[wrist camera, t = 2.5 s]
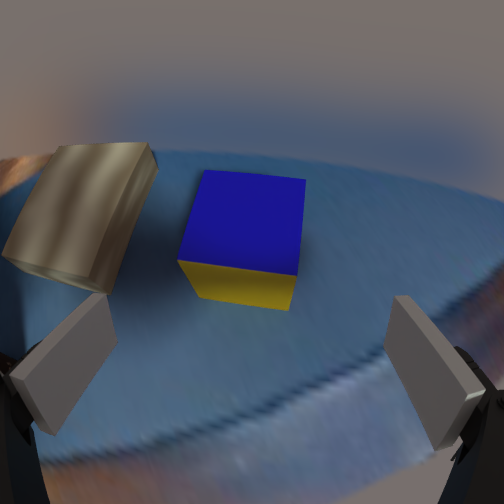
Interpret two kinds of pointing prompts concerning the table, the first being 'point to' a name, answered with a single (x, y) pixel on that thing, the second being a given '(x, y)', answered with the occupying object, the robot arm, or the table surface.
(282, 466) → the table surface
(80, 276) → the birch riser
